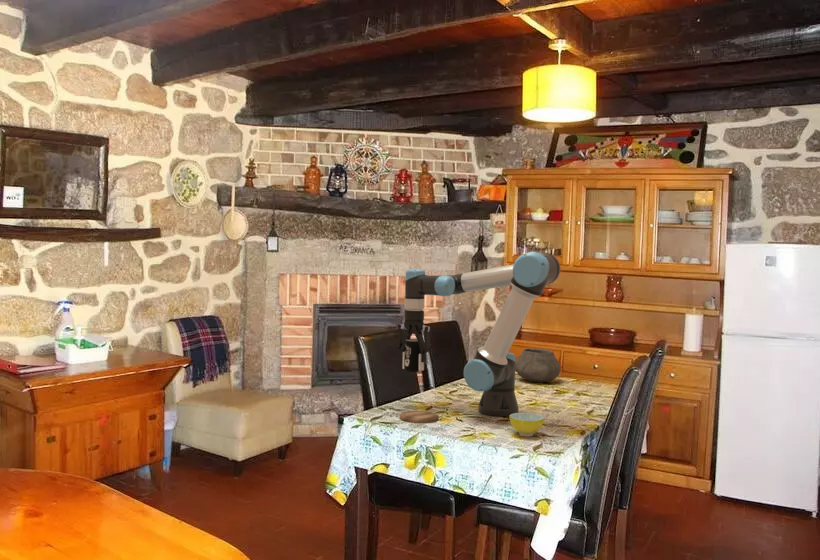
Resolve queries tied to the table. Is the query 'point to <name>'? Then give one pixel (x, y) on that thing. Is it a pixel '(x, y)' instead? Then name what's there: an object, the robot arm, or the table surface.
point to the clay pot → (537, 365)
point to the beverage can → (412, 355)
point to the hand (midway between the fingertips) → (413, 369)
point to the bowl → (526, 423)
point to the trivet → (419, 417)
